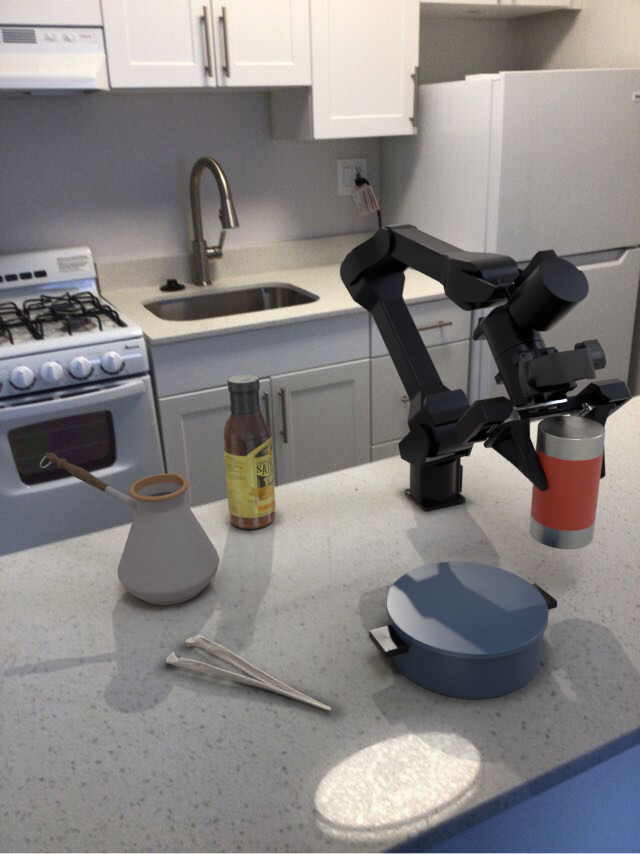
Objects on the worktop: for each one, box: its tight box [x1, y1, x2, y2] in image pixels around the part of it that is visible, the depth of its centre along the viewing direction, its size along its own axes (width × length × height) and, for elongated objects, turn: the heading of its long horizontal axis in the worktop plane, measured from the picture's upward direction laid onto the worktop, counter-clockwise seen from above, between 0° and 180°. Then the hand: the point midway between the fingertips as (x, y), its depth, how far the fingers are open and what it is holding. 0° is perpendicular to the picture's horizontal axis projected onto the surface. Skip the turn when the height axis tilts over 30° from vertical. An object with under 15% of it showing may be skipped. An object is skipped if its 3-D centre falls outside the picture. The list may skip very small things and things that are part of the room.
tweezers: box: [165, 634, 332, 712], centre depth 71 cm, size 17×5×2 cm, turn 60°
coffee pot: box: [39, 452, 220, 606], centre depth 86 cm, size 21×12×15 cm, turn 68°
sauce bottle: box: [223, 373, 276, 530], centre depth 98 cm, size 6×6×20 cm
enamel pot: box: [368, 561, 558, 700], centre depth 74 cm, size 19×15×5 cm
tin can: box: [528, 415, 606, 550], centre depth 80 cm, size 7×7×12 cm
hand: (573, 484), depth 78 cm, fingers closed on tin can, 7 cm apart
